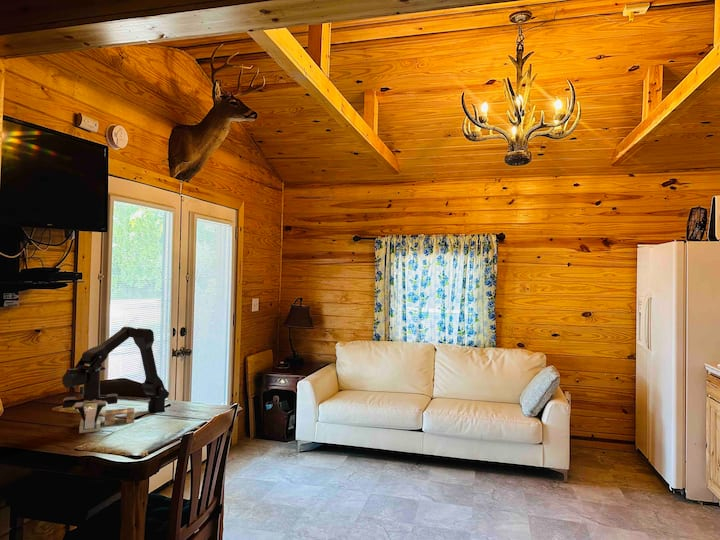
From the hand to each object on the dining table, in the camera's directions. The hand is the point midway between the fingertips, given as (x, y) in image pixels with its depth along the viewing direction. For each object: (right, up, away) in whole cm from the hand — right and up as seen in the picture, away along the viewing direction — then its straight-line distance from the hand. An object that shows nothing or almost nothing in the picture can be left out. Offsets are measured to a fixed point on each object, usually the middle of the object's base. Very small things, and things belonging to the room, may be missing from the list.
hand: (90, 422), depth 187 cm
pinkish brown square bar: (-2, -1, +4) cm, 4 cm away
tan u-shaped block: (+5, -4, +13) cm, 15 cm away
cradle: (-2, -4, +4) cm, 6 cm away
